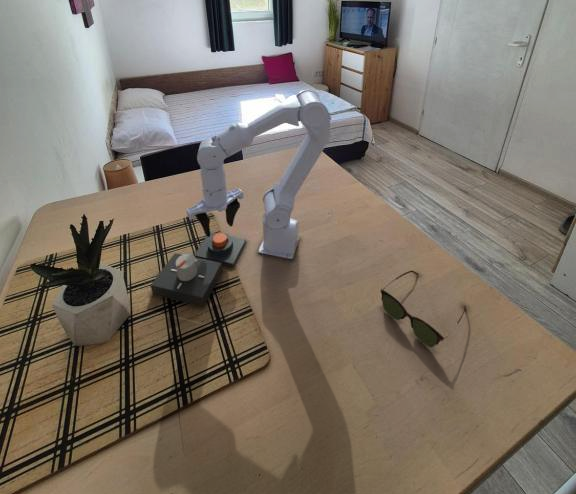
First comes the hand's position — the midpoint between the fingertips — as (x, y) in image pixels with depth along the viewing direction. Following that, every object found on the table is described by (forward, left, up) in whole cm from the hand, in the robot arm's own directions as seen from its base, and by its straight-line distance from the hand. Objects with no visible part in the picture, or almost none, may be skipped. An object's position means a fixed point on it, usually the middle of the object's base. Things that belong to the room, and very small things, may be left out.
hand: (218, 229), depth 84 cm
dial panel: (+3, +12, -7) cm, 14 cm away
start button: (0, 0, -5) cm, 5 cm away
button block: (0, 0, -7) cm, 7 cm away
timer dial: (+3, +11, -4) cm, 13 cm away
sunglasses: (-51, +5, -7) cm, 52 cm away
